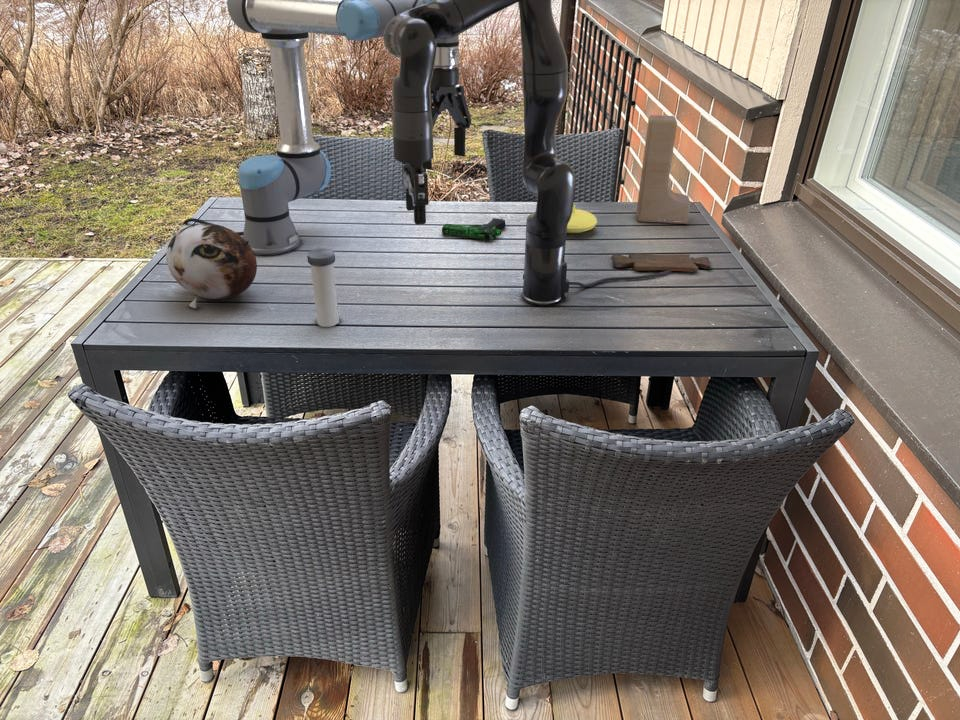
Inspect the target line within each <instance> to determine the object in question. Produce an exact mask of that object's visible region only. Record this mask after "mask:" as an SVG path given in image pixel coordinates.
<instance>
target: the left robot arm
mask: <svg viewBox="0 0 960 720" xmlns="http://www.w3.org/2000/svg"><path fill="white" fill-rule="evenodd" d="M432 1H434V0H226V7H227V12H228V15H229V17H230V19H231V21H232V22H233V23H234V25H236V26H237V28H239V29H240V30H242V31H244V32H246V33H250V34H260V35H261V40H262V41H264V42H265V43H266V44H267V46H268V48H269V57H270V63H271V72H272V81H273V88H274V96H275V103H276V111H277V119H278V128H279V135H280V142H279V143H278V145H277V146H276V148H275V149H276V150H275V151H276V154H262V155H254V156H253V157H250V158H247V159H245V160H244V161H242V162H241V163H240V164H239V166H238V168H237V174H238V185H239V190H240V194H241V195H240V196H241V201H242V208H243V212H244V213H243V215H244V219H245V220H244V226H243V228H244V229H243V231H235V232H236V233H237V234H239V235H240V236H242V237H243V238H244V239H245V240H246V241H249V242H248V244H249V245H250V247H251V248H252V250H253V252H254V254H255V256H256V255H257V256H275V255H281V254H282V255H283V254H285V253H289V252H291V251H293V250H296V249H297V248H298V247H299V246H300V244H301V241H300V235H299V233H298V231H297V229H296V227H295V225H294V223H293V220H292V218H291V216H290V207H289V203H291V202H293V201H296V200H299V199H302V198H305V197H309V196H312V195H315V194H317V193H318V192H321V191H322V190H324V189H325V188H326V187H328V185H329V183H330V180H331V175H332V168H331V163H330V160H329V158H327V155H326V153H325V152H324V151H323V150H321V146H320V144H319V143H318V142H316V141H315V140H314V134H313V133H314V132H313V123H312V115H311V114H312V113H311V104H310V94H309V93H310V92H309V84H308V75H307V65H306V55H305V44H306V43H307V41H308V40H309V39H310V36H309V34H310V33H311V34H319V35H320V34H321V35H328V36H329V35H330V36H339V37H345V38H346V39H347V40H350V41H359V42H360V41H361V42H362V41H363V42H364V41H368V40H373V39H378V38H383V34H384V30H385V27H386V26H387V24H388V23H389V21H390V20H391V19H393V18H394V17H395V16H397V15H399V14H400V13H403V12H405V11H407V10H410V9H412V8H415V7H418V6H420V5H423V4H426V3H429V2H432ZM459 38H460V34H459V35H457V36H455V37H453V38H449V39H439V40H436V58H435V64H434V70H433V75H432V79H431V83H430V91H431V115H432V122H433V128H435V127H434V126H435V125H436V122H437V120H438V117H439V115H441V114H442V112H444V111H446V110H447V112H448V113H449V115H450V117H451V119H452V120H453V123H454V124H455V126H456V127H453V130H454V131H453V155H454V156H456V157H463V158H464V157H466V136H467V135H466V133H467V132H466V130H467V129H470V127H471V124H472V117H471V114H470V110H469V107H468V102H467V99H466V96H465V87H464V85H462V84H460V68H459V67H458V65H459V64H460V41H459V40H460V39H459ZM432 160H433V159H432ZM432 160H430V161H428V162H424V163H423V169H424V170H432V169H433V163H432V162H433V161H432ZM191 222H192V223H197V224H204V223H206V224H213V223H212V222H209V221H205V220H202V219H199V218H195V217H190V218H187V219H185V220H184V221H183V223H182V225H187V224H189V223H191Z"/></svg>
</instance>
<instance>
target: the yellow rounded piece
mask: <svg viewBox="0 0 960 720" xmlns="http://www.w3.org/2000/svg"><path fill="white" fill-rule="evenodd" d="M597 223H598V219H597V217H596V215H595V214H593V213H591V212H589V211H587V210H584V209H578V208H576V205H575V204H573V209H572V215H571V218H570V221H569V222H568V225H567V233H566V234H580V233H584V232H585V233H586V232H587V231H591V230H592V229H594V228H596V226H597Z"/></svg>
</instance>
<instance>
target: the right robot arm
mask: <svg viewBox="0 0 960 720" xmlns="http://www.w3.org/2000/svg"><path fill="white" fill-rule="evenodd" d="M515 4H517V5H518V11H519V25H520V44H521V46H520V48H521V79H522V80H521V82H522V96H523V97H522V98H523V125H524V126H523V127H524V140H523V141H524V142H523V143H524V144H523V155H522V156H523V157H522V181H523V182H522V183H523V185H524V187H525V189H526V190H527V191H528V192H529V193H530V194H531V195H532V196H534V197H536V208H535V211H534V212H531V213H530V214H528V216H527V217H526V223H525V240H524V241H525V245H524V262H523V274H522V280H523V283H522V284H523V286H522V296H521V297H522V299H523V301H525V302H526V303H528V304H530V305H533V306H537V307H539V306H540V307H550V306H553V305H556V304H559V303H560V302H565V297H566V294H567V293H568V294H569V292H570V286H580V287H582V288H590V287H593V286H596V285H598V284H600V283H604V282H609V281H628V280H630V281H631V280H642V279H649V278H656V277H660V276H662V275H667V274H669V273H672V271H670V270H667V271H664V270H663V271H660V272H656V273H651V274H645V275H636V276H635V275H634V276H612V277H605V278H602V279H598V280H596V281H594V282H591V283H586V284H585V283H584V284H583V283H582V282H580V281H579V282H578V281H569V279H568V278H567V276H568V275H567V274H568V273H567V272H568V262H566V261H565V257H566V245H567V234H568V233H567V225H568V222H569V221H570V218H571V215H572V209H573V205H574V200H575V194H576V174H575V171H574V169H573V168H572V166H571V165H569V164H568V163H567V162H565V161H563V160H561V159H558V158H557V152H556V128H557V124H558V121H559V118H560V116H561V114H562V111H563V108H564V107H565V103H566V100H567V96H568V89H569V87H568V82H569V81H568V79H569V77H568V76H569V73H568V66H569V65H568V57H567V53H566V49H565V46H564V44H563V41H562V38H561V35H560V32H559V30H558V28H557V25H556V22H555V19H554V15H553V10H552V9H553V8H552V0H434V1H432V2H429V3H426V4H423V5H420V6H418V7H415V8H412V9H410V10H407V11H405V12H403V13H400V14H399V15H397V16H395V17H394V18H393V19H391V20H390V21H389V23H388V24H387V26H386V27H385V30H384V34H383V37H382V40H383V44H384V46H385V49H386V50H387V52H388V53H390V54H391V55H393V56H394V57H396V58H398V59H400V64H399V66H400V67H399V74H398V75H396V76H394V78H393V80H392V84H391V93H392V94H391V95H392V118H391V119H392V120H391V121H392V123H391V124H392V143H393V144H392V145H393V157H394V160H395V161H397V162H399V163H401V178H402V179H401V184H402V186H403V190H404V192H405V208H406V210H407V211H408V212H409V211H413V223H414V224H415V225H417V226H418V225H425V224H426V223H427V213H426V212H427V209H426V206H429V203H430V200H429V181H428V180H429V175H428V173H427V169H424V168H423V163H424V162H428V161H430V160H433V159H434V127H433V122H432V115H431V91H430V83H431V79H432V75H433V70H434V64H435V58H436V40H439V39H449V38H453V37H455V36H457V35H459V36H460V35H461V34H463V33H464V32H466V31H468V30H470V29H471V28H473V27H475V26H477V25H478V24H480V23H481V22H483V21H484V20H486V19H488V18H489V17H492V16H493V15H495V14H497V13H499V12H502V11H503V10H505V9H507V8H509V7H511V6H513V5H515ZM419 195H421V198H419ZM693 258H694V257H690V259H693Z"/></svg>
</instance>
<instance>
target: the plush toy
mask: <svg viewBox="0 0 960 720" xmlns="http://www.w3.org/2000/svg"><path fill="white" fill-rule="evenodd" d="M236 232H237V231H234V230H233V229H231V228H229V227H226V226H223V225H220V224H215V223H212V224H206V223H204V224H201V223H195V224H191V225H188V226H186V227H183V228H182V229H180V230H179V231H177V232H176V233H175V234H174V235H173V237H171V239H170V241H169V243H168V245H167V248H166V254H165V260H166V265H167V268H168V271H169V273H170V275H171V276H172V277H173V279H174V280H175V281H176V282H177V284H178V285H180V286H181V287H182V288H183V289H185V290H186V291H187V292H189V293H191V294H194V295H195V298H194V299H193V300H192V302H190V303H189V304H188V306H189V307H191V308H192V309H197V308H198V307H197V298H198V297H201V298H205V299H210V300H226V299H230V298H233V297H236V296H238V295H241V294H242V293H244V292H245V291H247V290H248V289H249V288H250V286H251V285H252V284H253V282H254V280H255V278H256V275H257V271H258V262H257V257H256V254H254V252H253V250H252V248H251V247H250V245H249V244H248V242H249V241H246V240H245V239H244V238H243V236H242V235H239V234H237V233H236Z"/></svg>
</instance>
